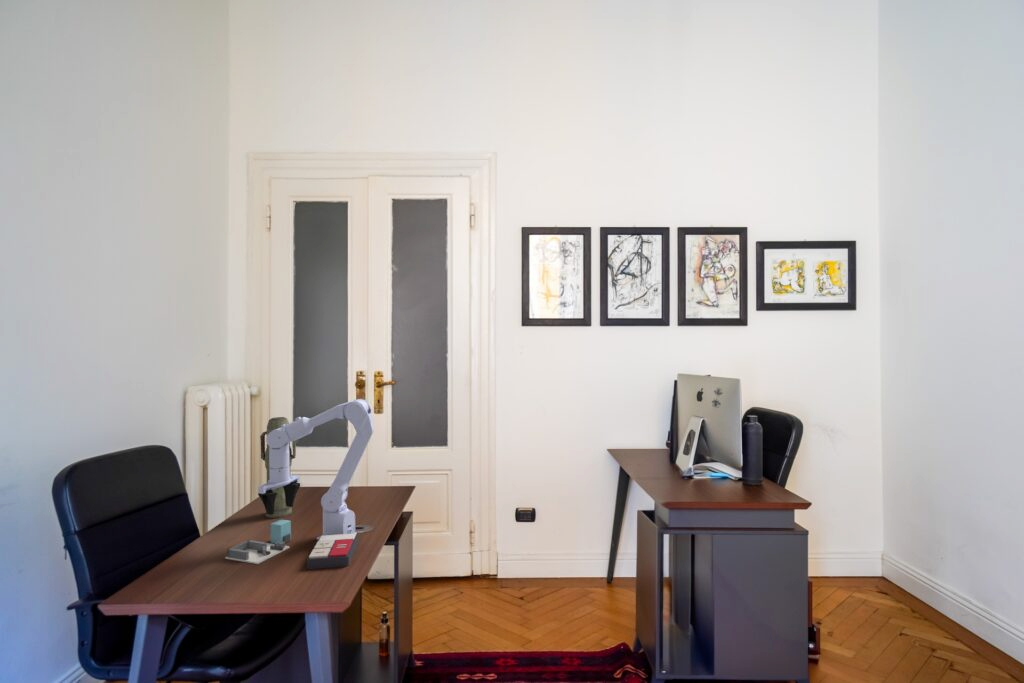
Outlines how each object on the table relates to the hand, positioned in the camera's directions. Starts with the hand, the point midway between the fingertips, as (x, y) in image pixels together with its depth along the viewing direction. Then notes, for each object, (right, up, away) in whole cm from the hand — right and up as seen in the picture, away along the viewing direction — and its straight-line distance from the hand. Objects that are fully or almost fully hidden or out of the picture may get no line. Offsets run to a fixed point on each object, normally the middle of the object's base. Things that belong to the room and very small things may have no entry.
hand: (280, 510), depth 152 cm
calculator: (+21, -9, -13) cm, 27 cm away
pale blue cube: (+1, -9, -1) cm, 9 cm away
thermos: (-12, -10, +25) cm, 30 cm away
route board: (-2, -9, -10) cm, 14 cm away
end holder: (-4, -9, -11) cm, 15 cm away
